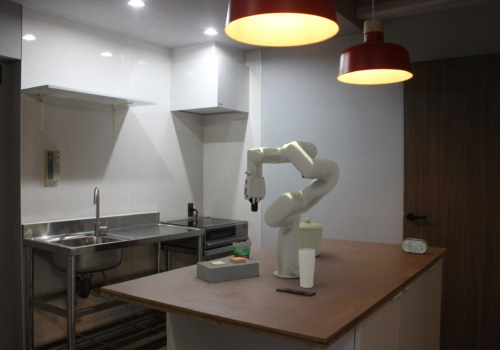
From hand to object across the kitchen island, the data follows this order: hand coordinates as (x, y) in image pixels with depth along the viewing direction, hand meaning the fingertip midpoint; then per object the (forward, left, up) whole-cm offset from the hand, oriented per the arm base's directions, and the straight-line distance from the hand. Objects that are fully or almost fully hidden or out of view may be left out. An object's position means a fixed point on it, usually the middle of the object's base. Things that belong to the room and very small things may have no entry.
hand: (254, 211), depth 217 cm
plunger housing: (-10, +20, -27) cm, 35 cm away
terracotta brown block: (-10, +15, -25) cm, 31 cm away
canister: (+10, -41, -27) cm, 50 cm away
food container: (+16, -4, -27) cm, 32 cm away
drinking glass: (-42, +1, -27) cm, 50 cm away
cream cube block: (-10, +25, -26) cm, 37 cm away
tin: (-14, -100, -27) cm, 105 cm away
